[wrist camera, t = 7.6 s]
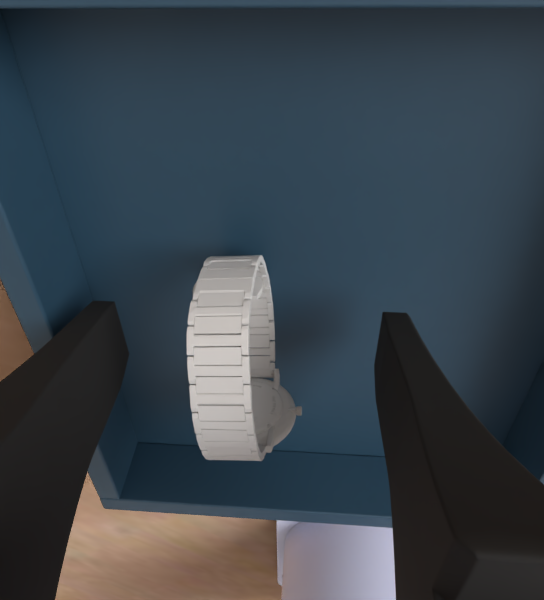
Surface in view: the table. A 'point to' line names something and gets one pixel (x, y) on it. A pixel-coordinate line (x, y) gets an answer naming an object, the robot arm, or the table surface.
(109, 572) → the table surface
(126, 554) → the table surface
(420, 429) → the robot arm
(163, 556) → the table surface
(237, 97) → the tray
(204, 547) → the table surface
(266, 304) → the wristwatch
